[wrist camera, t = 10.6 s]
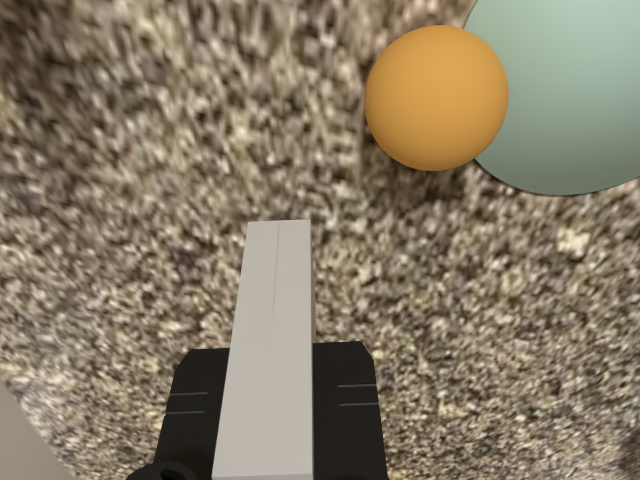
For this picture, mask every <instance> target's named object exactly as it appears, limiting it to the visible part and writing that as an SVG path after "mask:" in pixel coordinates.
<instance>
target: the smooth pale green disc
mask: <svg viewBox="0 0 640 480" xmlns="http://www.w3.org/2000/svg"><path fill="white" fill-rule="evenodd" d="M463 29H464V30H466V31H469V32H471V33H473V34H475V35H476V36H478V37H480V38H481V39H482V40H483V41H485V42H486V43H487V44H488V45H489V46H490V47H491V48H492V49H493V51H494V52H495V53H496V55H497V56H498V58H499V59H500V61H501V63H502V65H503V68H504V70H505V73H506V76H507V81H508V89H509V99H508V108H507V113H506V116H505V119H504V122H503V124H502V127H501V129H500V131H499V133H498V134H497V135H496V137H495V138H494V140H493V141H492V143H491V144H490V145H489V146H488V147H487V148H486V149H485V150H484V151H483V152H482V153H481V154H479V155H478V156H477V157H475V159H476V160H477V161H478V162H479V163H480V165H481V166H482V167H483V168H485V169H486V170H487V171H488V172H490V173H491V174H492V175H493V176H495V177H496V178H498V179H500V180H502V181H503V182H505V183H507V184H509V185H512V186H514V187H516V188H519V189H522V190H526V191H530V192H534V193H539V194H548V195H574V194H583V193H589V192H594V191H599V190H603V189H607V188H610V187H613V186H616V185H619V184H622V183H625V182H627V181H629V180H632V179H634V178H636V177H639V176H640V0H477V1H476V3H475V4H474V6H473V8H472V10H471V11H470V13H469V16H468V18H467V20H466V22H465V25H464V27H463Z"/></svg>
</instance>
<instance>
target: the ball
mask: <svg viewBox="0 0 640 480" xmlns="http://www.w3.org/2000/svg"><path fill="white" fill-rule="evenodd" d="M508 99H509V89H508V81H507V76H506V73H505V70H504V68H503V65H502V63H501V61H500V59H499V58H498V56H497V55H496V53H495V52H494V51H493V49H492V48H491V47H490V46H489V45H488V44H487V43H486V42H485V41H483V40H482V39H481V38H480V37H478V36H476V35H475V34H473V33H471V32H469V31H466V30H464V29H461V28H457V27H453V26H443V25H434V26H428V27H422V28H419V29H416V30H413V31H411V32H408V33H407V34H405V35H403V36H401V37H400V38H398V39H397V40H395V41H394V42H393V43H392V44H390V45H389V46H388V47H387V48H386V49H385V50H384V52H383V53H382V54H381V55H380V57H379V58H378V59H377V61H376V62H375V64H374V66H373V68H372V70H371V72H370V75H369V77H368V80H367V85H366V89H365V98H364V103H365V114H366V119H367V123H368V126H369V128H370V131H371V133H372V135H373V136H374V138H375V140H376V141H377V143H378V144H379V146H380V147H381V148H382V149H383V150H384V151H385V152H386V153H387V154H388V155H389V156H391V157H392V158H393V159H395V160H396V161H398V162H400V163H402V164H404V165H406V166H409V167H411V168H414V169H419V170H425V171H441V170H447V169H452V168H455V167H458V166H461V165H463V164H465V163H467V162H469V161H471V160H472V159H474V158H475V157H477V156H478V155H479V154H481V153H482V152H483V151H484V150H485V149H486V148H487V147H488V146H489V145H490V144H491V143H492V141H493V140H494V138H495V137H496V135H497V134H498V133H499V131H500V129H501V127H502V124H503V122H504V119H505V116H506V113H507V108H508Z"/></svg>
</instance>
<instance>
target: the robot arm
mask: <svg viewBox="0 0 640 480" xmlns="http://www.w3.org/2000/svg"><path fill="white" fill-rule="evenodd" d="M125 480H389V478H388V474H387V466H386V458H385V450H384V442H383V434H382V425H381V417H380V409H379V401H378V393H377V387H376V377H375V368H374V360H373V359H372V357H371V356H370V354H369V353H368V351H367V350H366V348H365V347H364V345H363V343H362V342H361V341H353V342H328V343H316V317H315V290H314V273H313V257H312V240H311V224H310V219H307V220H284V221H261V222H248V228H247V235H246V242H245V249H244V256H243V263H242V270H241V276H240V283H239V290H238V297H237V304H236V311H235V318H234V325H233V332H232V339H231V346H230V348H216V349H192V350H189V352H188V353H187V354H186V356H185V357H184V359H183V360H182V361H181V363H180V364H179V365H178V367H177V368H176V370H175V373H174V377H173V382H172V386H171V390H170V397H169V398H168V403H167V407H166V415H165V416H164V419H163V424H162V428H161V432H160V436H159V440H158V445H157V449H156V453H155V457H154V461H153V463H152V464H147V465H145V466H144V467H142V468H140V469H138V470H137V471H135V472H133V473H131V474H130V475H129V476H128V477H127V478H126V479H125Z"/></svg>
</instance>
